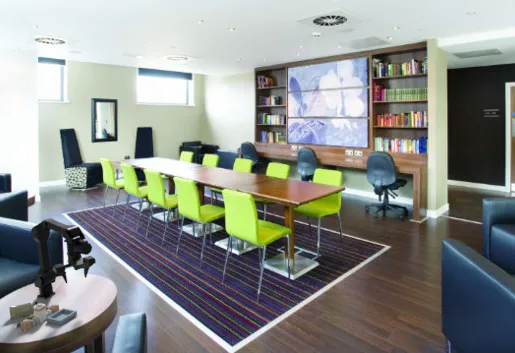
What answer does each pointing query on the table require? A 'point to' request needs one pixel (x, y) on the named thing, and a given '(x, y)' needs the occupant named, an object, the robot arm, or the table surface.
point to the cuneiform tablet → (21, 310)
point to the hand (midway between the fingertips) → (76, 280)
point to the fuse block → (36, 320)
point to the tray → (61, 316)
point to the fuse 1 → (25, 324)
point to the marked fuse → (40, 312)
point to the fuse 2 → (54, 308)
